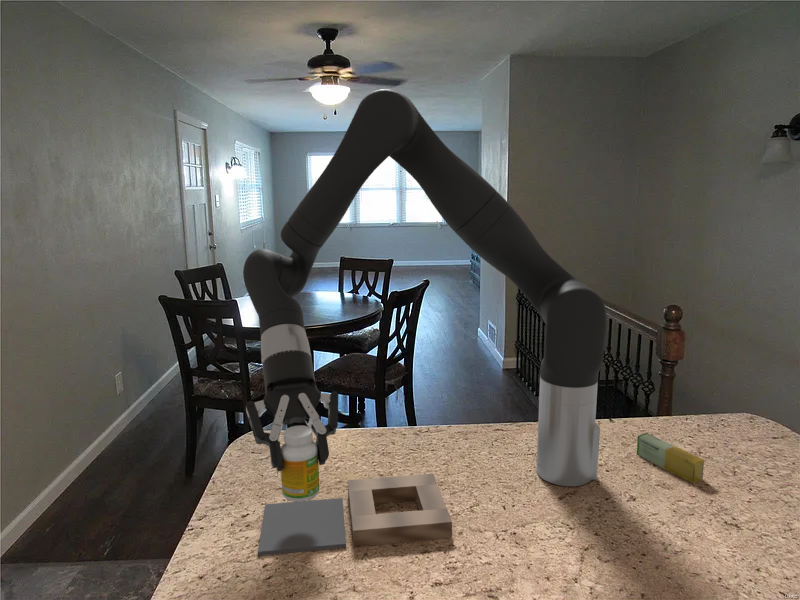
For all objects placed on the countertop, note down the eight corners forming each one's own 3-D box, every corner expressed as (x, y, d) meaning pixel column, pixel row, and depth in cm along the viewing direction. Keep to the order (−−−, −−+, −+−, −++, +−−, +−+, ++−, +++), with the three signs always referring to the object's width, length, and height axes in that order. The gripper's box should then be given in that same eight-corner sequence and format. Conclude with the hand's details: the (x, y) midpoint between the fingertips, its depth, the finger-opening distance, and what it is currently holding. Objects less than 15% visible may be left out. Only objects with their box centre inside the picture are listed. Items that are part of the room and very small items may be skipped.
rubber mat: (342, 501, 94) (342, 497, 94) (346, 547, 82) (346, 543, 82) (265, 507, 92) (265, 504, 92) (257, 555, 81) (257, 551, 80)
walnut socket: (433, 487, 98) (433, 473, 97) (452, 537, 84) (452, 521, 84) (348, 494, 96) (347, 480, 95) (353, 546, 82) (353, 530, 82)
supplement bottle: (312, 504, 83) (309, 441, 81) (276, 500, 84) (272, 438, 82) (324, 484, 88) (322, 424, 86) (290, 481, 89) (287, 421, 87)
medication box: (635, 455, 108) (636, 435, 108) (645, 451, 110) (646, 431, 109) (693, 485, 98) (695, 463, 97) (704, 481, 99) (706, 459, 98)
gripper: (239, 353, 87) (249, 465, 78) (335, 344, 91) (355, 450, 83) (239, 375, 93) (249, 482, 84) (329, 366, 97) (347, 467, 89)
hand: (301, 465), depth 83 cm, fingers closed on supplement bottle, 5 cm apart
